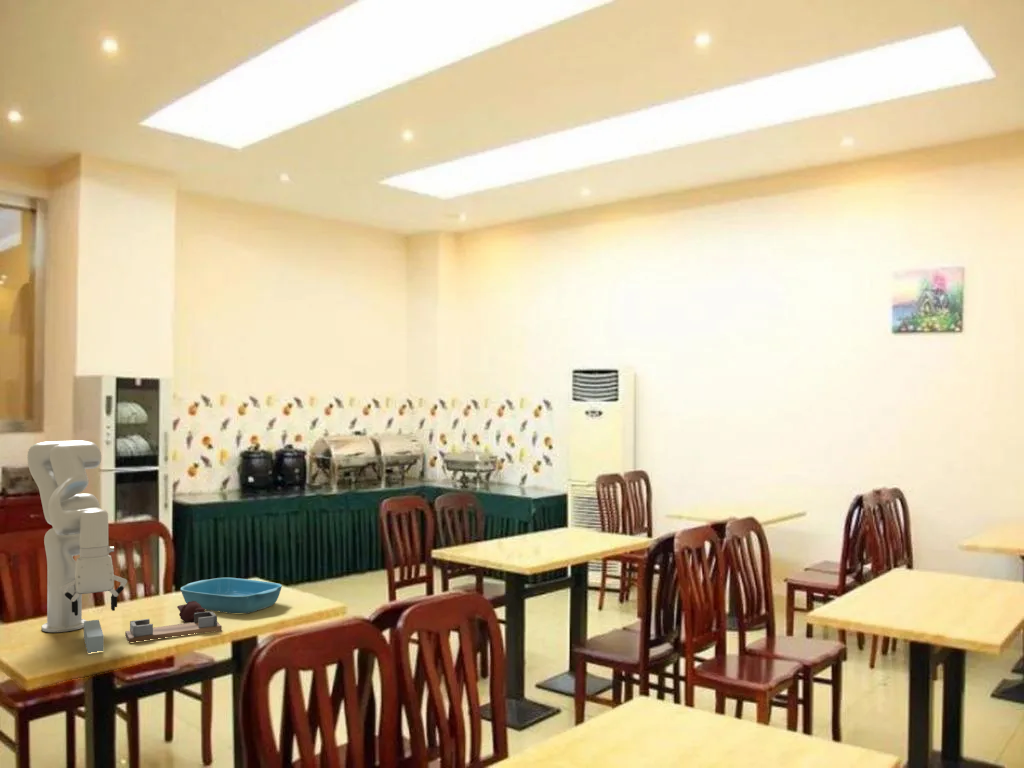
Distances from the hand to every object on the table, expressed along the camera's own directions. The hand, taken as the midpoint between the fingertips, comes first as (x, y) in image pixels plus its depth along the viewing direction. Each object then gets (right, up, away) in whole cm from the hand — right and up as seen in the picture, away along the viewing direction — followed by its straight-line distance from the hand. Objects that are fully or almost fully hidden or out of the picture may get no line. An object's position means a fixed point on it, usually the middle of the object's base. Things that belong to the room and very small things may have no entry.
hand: (94, 612), depth 247 cm
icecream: (+19, -10, +25) cm, 33 cm away
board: (+18, -10, +12) cm, 24 cm away
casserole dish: (+24, -11, +47) cm, 54 cm away
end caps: (+18, -8, +12) cm, 23 cm away
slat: (-1, -10, 0) cm, 10 cm away
